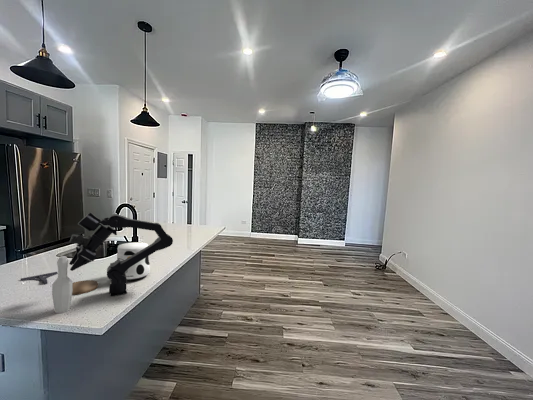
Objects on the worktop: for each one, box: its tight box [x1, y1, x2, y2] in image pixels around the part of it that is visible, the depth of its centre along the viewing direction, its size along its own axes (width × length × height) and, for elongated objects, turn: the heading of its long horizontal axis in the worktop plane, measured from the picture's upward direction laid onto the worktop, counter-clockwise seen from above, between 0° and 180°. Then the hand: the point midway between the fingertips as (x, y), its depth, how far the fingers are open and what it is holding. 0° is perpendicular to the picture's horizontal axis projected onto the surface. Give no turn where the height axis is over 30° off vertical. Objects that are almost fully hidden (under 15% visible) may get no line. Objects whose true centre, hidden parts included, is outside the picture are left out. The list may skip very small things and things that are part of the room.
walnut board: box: [72, 279, 99, 296], centre depth 119 cm, size 14×14×2 cm
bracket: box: [20, 271, 58, 285], centre depth 127 cm, size 14×15×3 cm
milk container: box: [116, 241, 151, 281], centre depth 137 cm, size 17×17×18 cm
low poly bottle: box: [51, 255, 74, 314], centre depth 99 cm, size 6×6×22 cm
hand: (70, 267), depth 105 cm, fingers open, 9 cm apart
